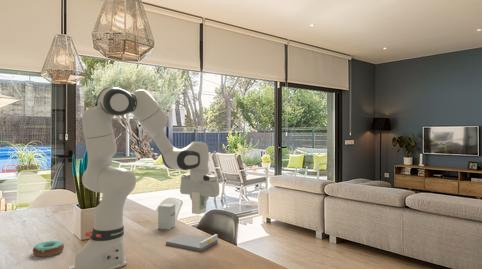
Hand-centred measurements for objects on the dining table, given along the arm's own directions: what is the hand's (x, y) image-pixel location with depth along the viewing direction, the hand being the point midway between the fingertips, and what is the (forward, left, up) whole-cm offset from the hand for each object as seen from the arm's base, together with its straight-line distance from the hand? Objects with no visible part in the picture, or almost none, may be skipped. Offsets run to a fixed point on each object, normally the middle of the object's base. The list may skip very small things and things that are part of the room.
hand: (199, 204), depth 160 cm
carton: (0, 0, -4) cm, 4 cm away
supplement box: (+16, +32, -19) cm, 41 cm away
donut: (-39, +53, -20) cm, 69 cm away
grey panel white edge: (0, +4, -19) cm, 19 cm away
